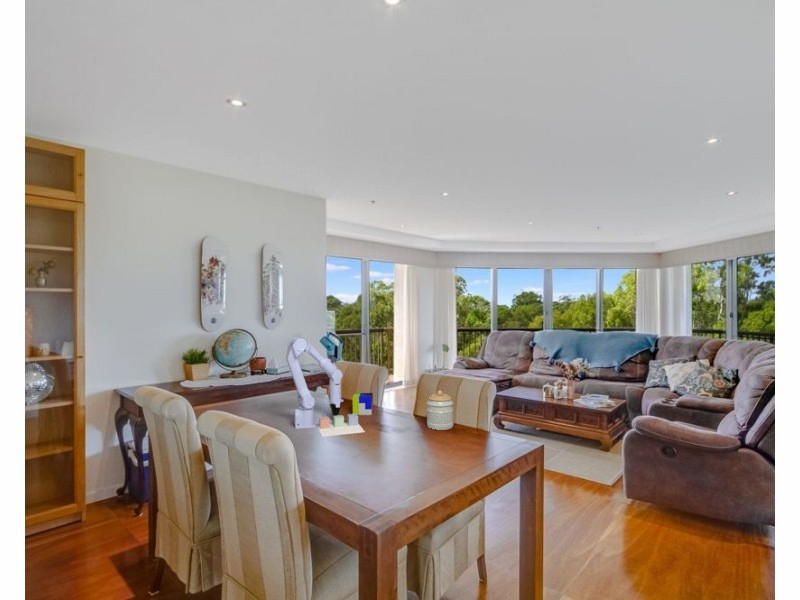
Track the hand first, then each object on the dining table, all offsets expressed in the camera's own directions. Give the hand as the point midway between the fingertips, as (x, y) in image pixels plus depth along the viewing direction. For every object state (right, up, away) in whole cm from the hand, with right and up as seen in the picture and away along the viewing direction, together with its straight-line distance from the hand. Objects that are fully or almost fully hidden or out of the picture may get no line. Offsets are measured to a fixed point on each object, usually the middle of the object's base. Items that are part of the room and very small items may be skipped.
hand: (335, 418), depth 219 cm
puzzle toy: (+13, -2, +16) cm, 20 cm away
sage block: (+3, -1, -9) cm, 9 cm away
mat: (+4, -2, -13) cm, 14 cm away
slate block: (+9, -1, -6) cm, 11 cm away
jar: (+53, -1, -10) cm, 54 cm away
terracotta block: (-4, -1, -11) cm, 11 cm away
